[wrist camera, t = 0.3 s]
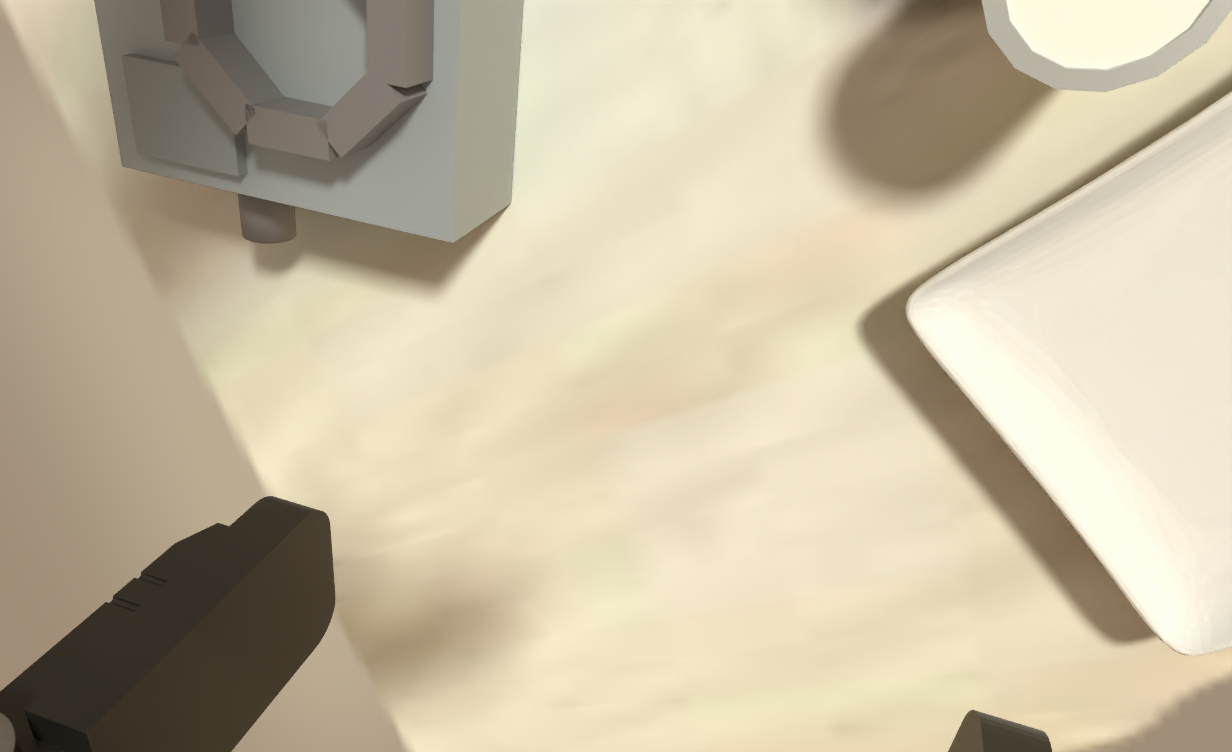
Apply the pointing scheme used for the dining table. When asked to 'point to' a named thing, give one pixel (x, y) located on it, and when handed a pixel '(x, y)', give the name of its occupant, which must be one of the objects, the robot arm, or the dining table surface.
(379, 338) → the dining table surface
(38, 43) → the dining table surface
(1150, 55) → the cream short cylinder
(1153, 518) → the salad plate
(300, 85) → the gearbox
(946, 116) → the dining table surface
